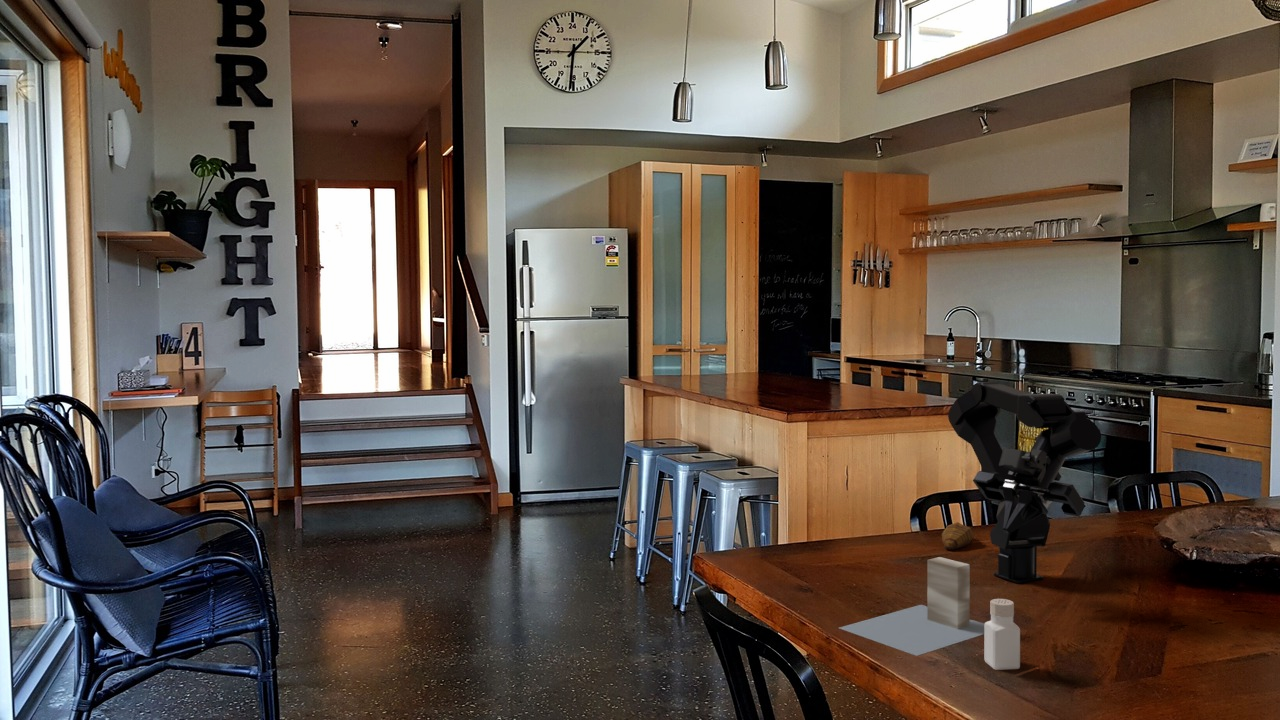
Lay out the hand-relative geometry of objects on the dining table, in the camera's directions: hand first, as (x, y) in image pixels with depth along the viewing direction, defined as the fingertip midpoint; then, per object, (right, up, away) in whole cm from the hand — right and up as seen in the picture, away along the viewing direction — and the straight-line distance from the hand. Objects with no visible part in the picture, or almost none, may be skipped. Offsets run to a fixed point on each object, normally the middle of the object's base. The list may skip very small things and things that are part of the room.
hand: (1005, 531), depth 173 cm
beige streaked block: (-12, -14, -8) cm, 20 cm away
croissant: (+6, -11, +45) cm, 46 cm away
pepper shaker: (-10, -15, -26) cm, 32 cm away
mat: (-18, -14, -10) cm, 25 cm away
